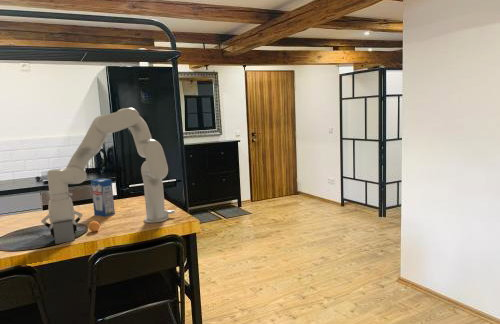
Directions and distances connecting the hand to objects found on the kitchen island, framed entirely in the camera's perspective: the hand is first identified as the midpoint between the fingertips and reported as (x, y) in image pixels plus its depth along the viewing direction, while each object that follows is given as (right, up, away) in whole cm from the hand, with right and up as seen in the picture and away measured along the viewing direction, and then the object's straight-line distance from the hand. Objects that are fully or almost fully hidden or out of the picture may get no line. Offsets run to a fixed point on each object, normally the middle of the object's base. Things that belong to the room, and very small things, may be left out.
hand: (64, 234), depth 164 cm
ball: (+9, +2, +10) cm, 14 cm away
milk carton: (+2, +3, +42) cm, 42 cm away
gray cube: (0, -2, 0) cm, 3 cm away
